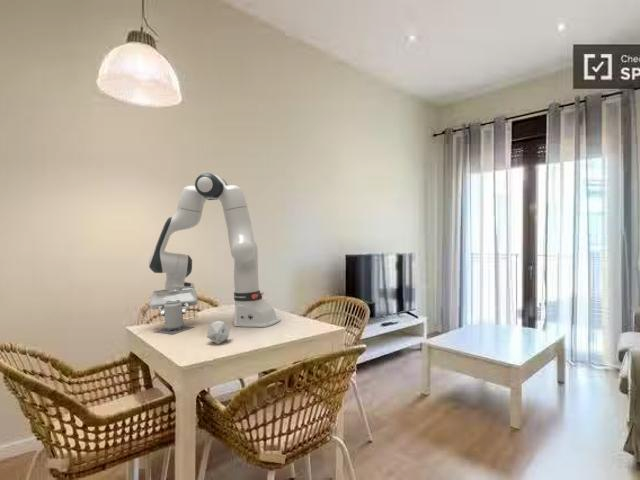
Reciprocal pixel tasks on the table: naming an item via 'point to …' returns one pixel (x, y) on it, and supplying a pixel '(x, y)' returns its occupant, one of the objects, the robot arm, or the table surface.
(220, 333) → the die
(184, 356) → the table surface
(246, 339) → the table surface
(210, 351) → the table surface
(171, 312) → the can
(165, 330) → the mat
